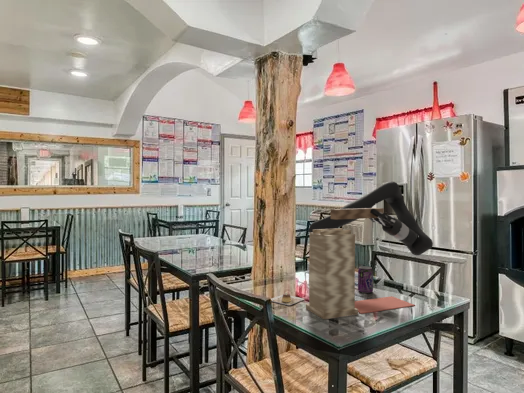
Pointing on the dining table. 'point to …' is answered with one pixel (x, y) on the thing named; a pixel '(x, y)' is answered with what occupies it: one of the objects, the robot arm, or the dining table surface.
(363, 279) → the beverage can
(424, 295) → the dining table surface
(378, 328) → the dining table surface
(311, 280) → the pedestal
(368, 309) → the mat
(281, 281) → the dining table surface
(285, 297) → the dessert
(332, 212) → the block
